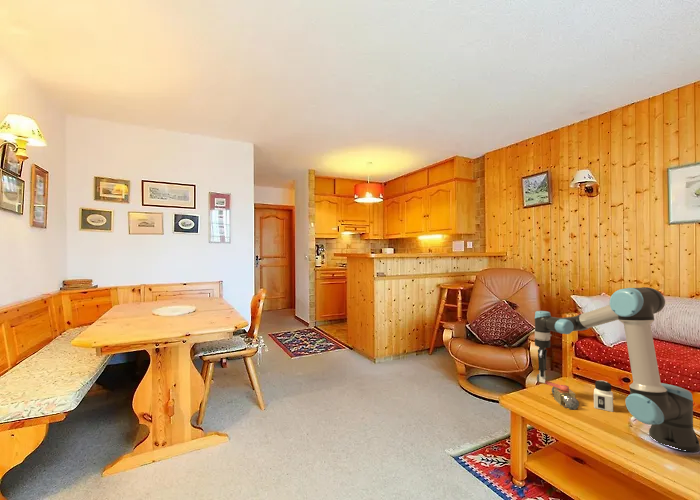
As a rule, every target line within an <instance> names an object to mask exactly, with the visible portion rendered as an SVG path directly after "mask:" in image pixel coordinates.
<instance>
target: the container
mask: <svg viewBox="0 0 700 500" xmlns="http://www.w3.org/2000/svg"><path fill="white" fill-rule="evenodd" d="M594 385H595V386H594V387H595V388H594V389H593V408H594V409H596V410H597V409H598V410H601V411H607V412H612V413H613V412H614V392H613V391H612V384H611V383H610V382H608V381H605V380H596V381H595V382H594Z"/></svg>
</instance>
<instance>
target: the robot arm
mask: <svg viewBox="0 0 700 500" xmlns="http://www.w3.org/2000/svg"><path fill="white" fill-rule="evenodd" d="M665 306H666V299H665V296H664V295H663V294H662V293H661V292H660V291H658V290H657V289H655V288H653V287H648V286H647V287H645V286H643V287H627V288H620V289H618V290H616V291H614V292H613V294H611V296H610V298H609V305H606V306H602V307H599V308H596V309H594V310H590V311H587V312H584V313H581V314H577V315H575V316H568V317H567V316H566V317H565V316H564V317H556V316H552V315H551V312H550V311H547V310H536V311H535V312H534V346H536V347H538V349H537V359H538V360H537V361H538V363H537V364H538V368H537V371H538V372H539V373H538V374H539V381H538V383H541V382H543V383H542V384H544V383H545V381H546V371H547V370H548V369H547V356H548V355H547V353H548V350H547V349H548V348H551V337H552V334H551V332H554V333H558V334H564V335H570V334H572V333H573V332H583V331H586V330H589V329H591V328H593V327H597V326H601V325H604V324H608V323H612V322H615V321H619V322H620V323H622V324H623V327H624V328H623V329H624V334H625V340H626V346H627V353H628V358H629V364H630V370H631V375H632V381H633V382H632V383H630V384H629V393H630V394H628V396H626V398H625V399H624V400H625V406H626V407H625V408H627V410H628V412H629V414H630V415H632V416H633V418H634V419H636V420H637V421H638V422H641V423H643V424H646V425H650V427H649V429H648V436H649V435H650V436H651V437H652V438H653V439H655V440H656V441H658V442H659V443H662V444H665V445H669V446H672V447H675V448H678V449H681V450H686V451H691V452H690V453H695V452H696V453H698V452H699V451H700V442H699V438H698V437H697V434H696V431H695V429H694V399H693V394H692V392H691V391H690V390H688V389H685V388H682V387H681V386H677V385H673V384H668V383H665V382H661V376H660V371H659V365H658V361H657V360H658V359H657V353H656V348H655V345H654V344H655V343H654V337H653V331H652V327H651V326H652V325H651V324H652V323H653V322H655V315H654V314H658V313H660V312H661V311H662V310H663V309H664V308H665ZM650 436H649V437H650ZM651 437H650V438H651ZM652 438H651V439H652ZM653 439H652V440H653ZM656 441H655V442H656ZM659 443H658V444H659Z"/></svg>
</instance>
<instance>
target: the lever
mask: <svg viewBox="0 0 700 500" xmlns="http://www.w3.org/2000/svg"><path fill="white" fill-rule="evenodd" d="M536 382H539V373H538V374H536ZM540 383H542V384H544V385H546V386H547V385H548V386H551V387H557V388H560V390H562V391H569V389H570V386H569V385H565V384H558V383H555V382H552V381H548V380H545V383H543V382H540Z"/></svg>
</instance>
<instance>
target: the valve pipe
mask: <svg viewBox="0 0 700 500" xmlns="http://www.w3.org/2000/svg"><path fill="white" fill-rule="evenodd" d="M551 394H553V395H552V398H553V397H554V398H553V399H554V400H555V402H556V403H558V404H559V405H560V406H562V407H563V408H564V409H569V410H572V411H573V410H577V409H578V408H579V406H580V401H578V399H577V398H576V393H575V391H573V390H572V389H570V388H569V391H562V390H560V388H557V387H554V386H552V388H551Z"/></svg>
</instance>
